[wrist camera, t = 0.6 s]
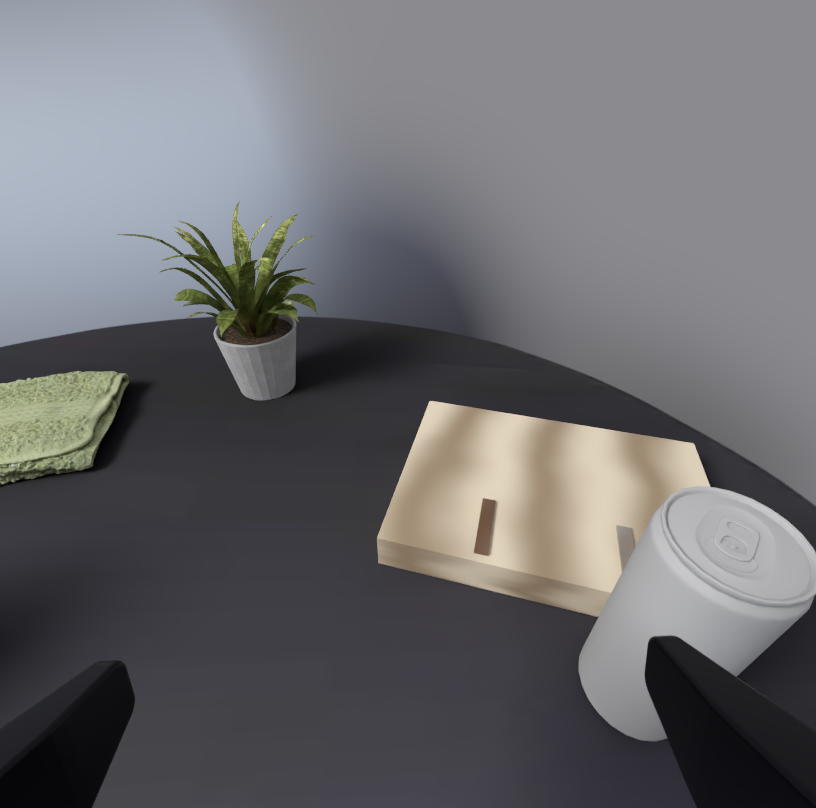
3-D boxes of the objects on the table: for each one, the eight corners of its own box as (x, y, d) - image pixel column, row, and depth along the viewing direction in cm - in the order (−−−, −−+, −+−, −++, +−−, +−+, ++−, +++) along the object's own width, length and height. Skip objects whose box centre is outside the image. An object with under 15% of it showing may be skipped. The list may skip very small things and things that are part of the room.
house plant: (167, 453, 35) (73, 244, 25) (180, 365, 45) (118, 194, 35) (344, 418, 38) (323, 224, 29) (318, 344, 49) (297, 184, 39)
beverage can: (558, 690, 21) (637, 542, 14) (598, 618, 24) (680, 464, 17) (662, 774, 19) (822, 644, 12) (692, 682, 22) (835, 532, 15)
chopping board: (681, 467, 34) (695, 441, 32) (740, 652, 23) (766, 626, 21) (428, 423, 38) (429, 398, 36) (378, 562, 27) (376, 536, 25)
